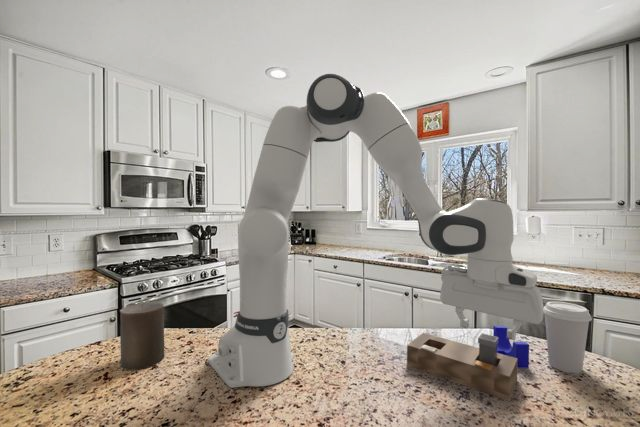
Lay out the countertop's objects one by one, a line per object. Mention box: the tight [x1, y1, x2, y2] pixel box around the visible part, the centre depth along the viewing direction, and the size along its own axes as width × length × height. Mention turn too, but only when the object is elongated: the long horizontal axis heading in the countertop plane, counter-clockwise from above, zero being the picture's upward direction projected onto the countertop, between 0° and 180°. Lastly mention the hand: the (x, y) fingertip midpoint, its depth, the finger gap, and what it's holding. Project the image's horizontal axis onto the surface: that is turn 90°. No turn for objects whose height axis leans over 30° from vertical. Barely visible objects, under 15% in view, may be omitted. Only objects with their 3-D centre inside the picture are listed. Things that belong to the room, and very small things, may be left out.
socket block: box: [406, 332, 518, 402], centre depth 73 cm, size 22×10×5 cm, turn 50°
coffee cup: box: [543, 301, 593, 374], centre depth 76 cm, size 10×10×15 cm
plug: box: [477, 332, 498, 367], centre depth 69 cm, size 3×3×9 cm
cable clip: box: [492, 325, 530, 369], centre depth 82 cm, size 12×4×6 cm, turn 174°
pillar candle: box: [119, 301, 165, 371], centre depth 78 cm, size 10×10×15 cm
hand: (486, 332), depth 69 cm, fingers open, 8 cm apart
